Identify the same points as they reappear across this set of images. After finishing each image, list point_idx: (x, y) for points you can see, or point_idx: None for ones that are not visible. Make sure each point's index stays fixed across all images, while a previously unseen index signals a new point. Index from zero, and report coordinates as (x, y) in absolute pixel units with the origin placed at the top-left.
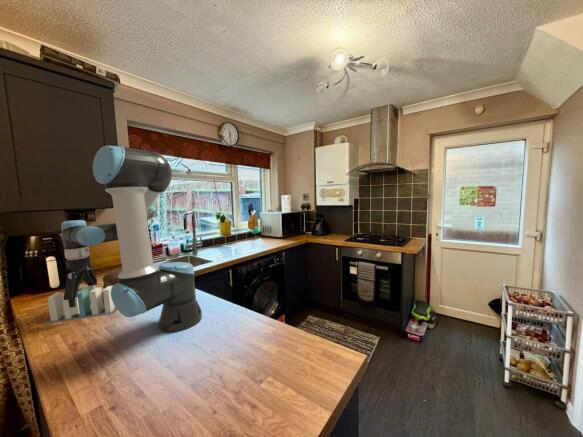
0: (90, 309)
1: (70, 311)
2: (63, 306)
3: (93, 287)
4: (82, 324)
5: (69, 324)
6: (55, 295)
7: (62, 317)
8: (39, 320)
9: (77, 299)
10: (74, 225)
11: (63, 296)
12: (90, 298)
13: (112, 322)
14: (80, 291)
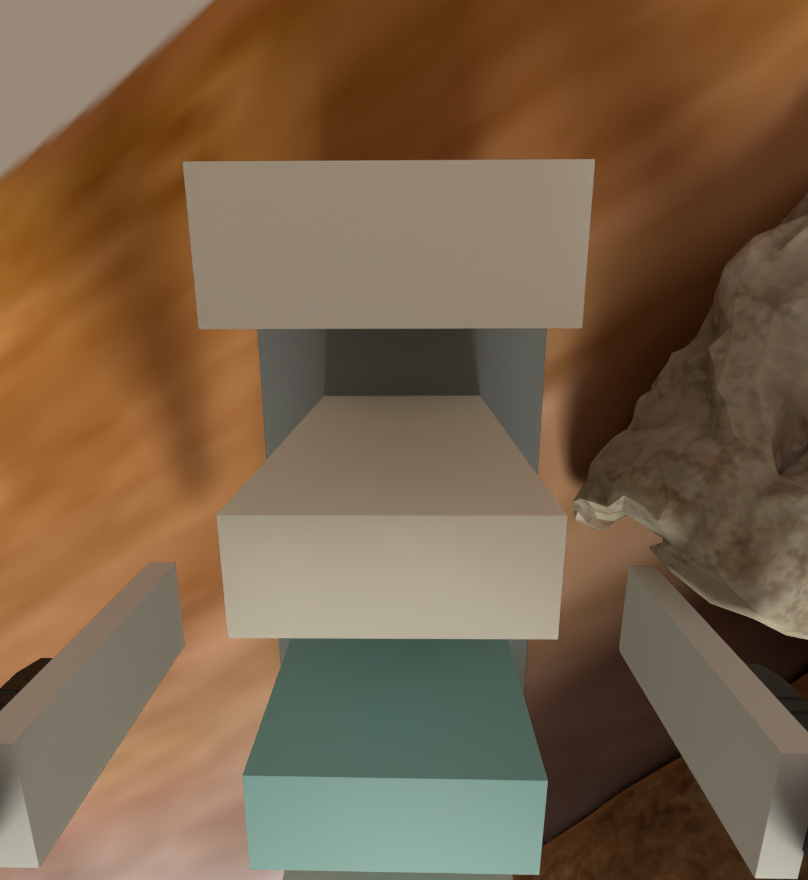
0: None
1: (125, 596)
2: (287, 437)
3: (732, 834)
4: None
5: (192, 498)
6: (301, 312)
7: (394, 331)
8: (449, 23)
9: (55, 825)
10: None
11: (226, 532)
12: None
13: (122, 854)
14: (392, 797)
